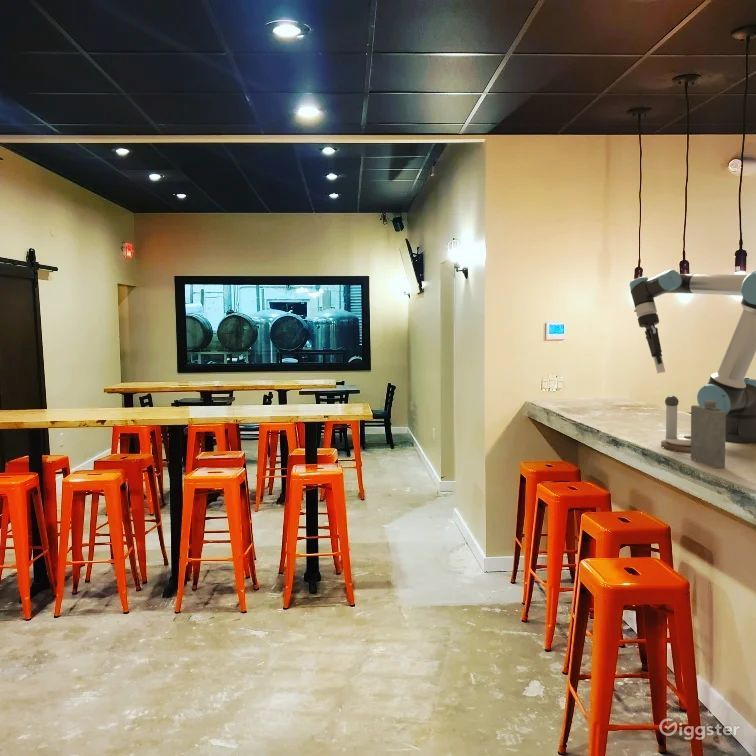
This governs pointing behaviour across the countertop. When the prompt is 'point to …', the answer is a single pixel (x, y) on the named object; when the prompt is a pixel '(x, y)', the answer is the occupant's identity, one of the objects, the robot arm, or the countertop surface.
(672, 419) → the light grey l-shaped piece
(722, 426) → the hip flask
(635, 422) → the countertop surface
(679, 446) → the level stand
